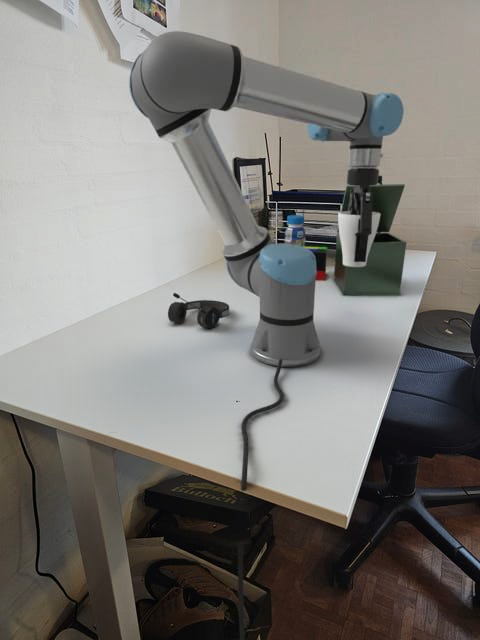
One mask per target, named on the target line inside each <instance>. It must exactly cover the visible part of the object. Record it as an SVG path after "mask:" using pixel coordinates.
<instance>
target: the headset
mask: <svg viewBox="0 0 480 640" xmlns="http://www.w3.org/2000/svg"><path fill="white" fill-rule="evenodd" d="M172 296H173V297H174V298H176V299H180V300H182V301H183V302H182V301H181V302H180V301H174V302H172V303H170V305H169V307H168V310H167V318H168V320H169V321H170V322H171V323H177V324H181V323H184V322H185V320H186V317H187V314H188V313H187V312H188V311H191V310H192V311H193V310H199V311H198V313H197V316H196V322H197V324H198V325H199V326H200V327H201V328H208V329H213V328H214V327H216V326H217V325H218V324H219V322H220V319H225V318H227V317H228V316H229V315H230V305H229V304H228V303H227V302H224V301H220V300H214V299H213V300H212V299H210V300H209V299H202V300H201V299H198V300H191V301H187V300H186V299H184V298H182V297H181V296H180V294H178V293H176V292H174V293H173V294H172Z"/></svg>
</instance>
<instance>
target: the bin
mask: <svg viewBox="0 0 480 640" xmlns="http://www.w3.org/2000/svg"><path fill="white" fill-rule="evenodd" d="M335 245H336V246H335V256H334V257H335V259H334V274H333V281H334V283H335V284H336V286H337V288H338V289H339V291H340V292H341V294H342V295H343V296H400V294H401V286H402V279H403V272H404V264H405V257H406V250H407V241H405V240H403V239H402V238H399V237H398V236H396V235H393V234H391V232H376V234H375V237H374V240H373V242H372V245H371V248H370V251H369V254H368V257H367V262H366V266H364V267H348V266H345V265H343V254H342V246H341V240H340V235H339V233H337V232H336V243H335Z"/></svg>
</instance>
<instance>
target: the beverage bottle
mask: <svg viewBox="0 0 480 640" xmlns="http://www.w3.org/2000/svg"><path fill="white" fill-rule="evenodd" d="M286 218H287V219H286V224H287V228H286V229H285V231H284V235H285V237H284V244H292V245H299V246H302V247H306V230H305V228H304V225H305V216H304V215H302V214H292V215H288V216H287V217H286Z"/></svg>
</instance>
